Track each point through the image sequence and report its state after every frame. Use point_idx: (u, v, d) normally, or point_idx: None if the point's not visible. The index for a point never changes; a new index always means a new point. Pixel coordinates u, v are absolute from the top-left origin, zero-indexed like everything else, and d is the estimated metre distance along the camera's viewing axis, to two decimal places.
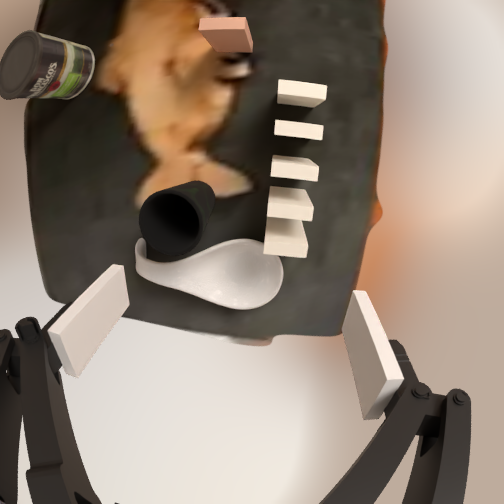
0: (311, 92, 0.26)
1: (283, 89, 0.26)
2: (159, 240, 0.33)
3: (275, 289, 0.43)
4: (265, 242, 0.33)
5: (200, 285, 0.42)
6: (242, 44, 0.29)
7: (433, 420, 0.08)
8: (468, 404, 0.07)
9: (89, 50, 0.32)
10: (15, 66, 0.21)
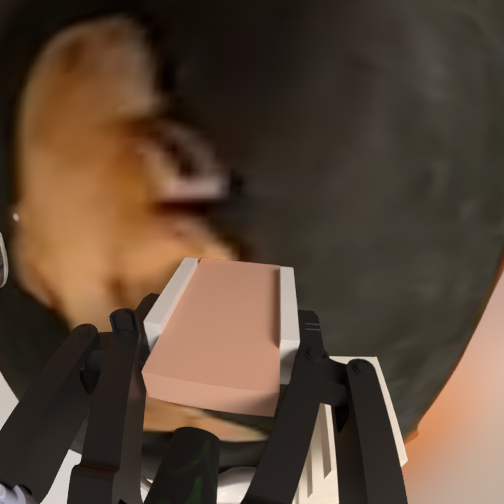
0: None
1: (335, 476, 0.12)
2: None
3: None
4: None
5: None
6: None
7: (332, 387, 0.10)
8: (373, 371, 0.09)
9: None
10: None
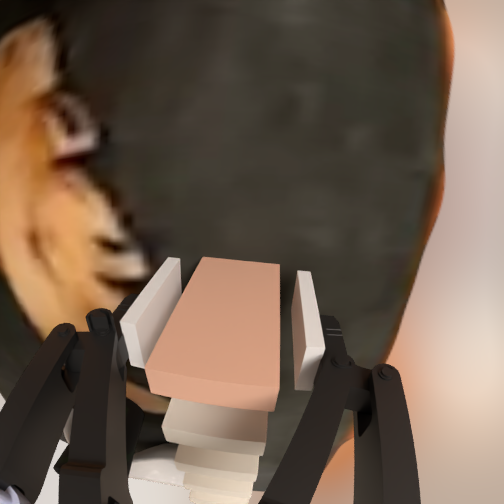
0: (232, 448, 0.12)
1: (175, 439, 0.12)
2: None
3: None
4: None
5: (134, 470, 0.28)
6: None
7: (358, 393, 0.09)
8: (397, 377, 0.09)
9: None
10: None
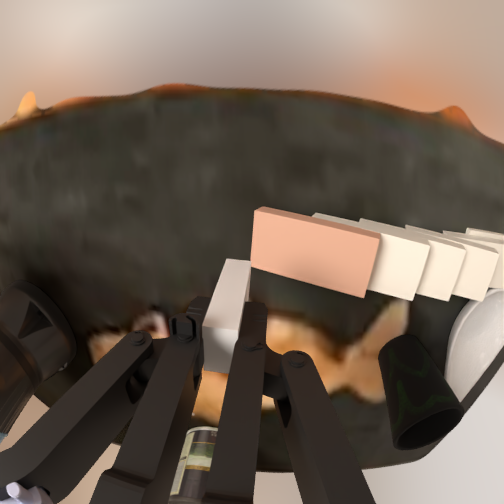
0: None
1: None
2: (437, 426, 0.21)
3: None
4: None
5: (468, 376, 0.26)
6: None
7: (268, 378, 0.10)
8: (310, 362, 0.10)
9: (195, 430, 0.38)
10: None
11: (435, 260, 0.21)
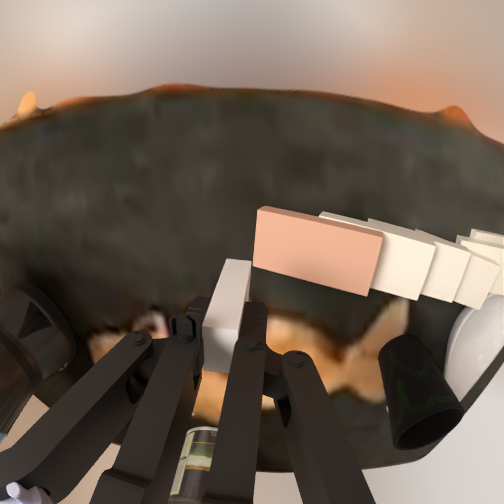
0: None
1: None
2: (437, 426, 0.21)
3: None
4: None
5: (466, 378, 0.26)
6: None
7: (268, 378, 0.10)
8: (310, 362, 0.10)
9: (195, 430, 0.38)
10: None
11: (440, 262, 0.21)
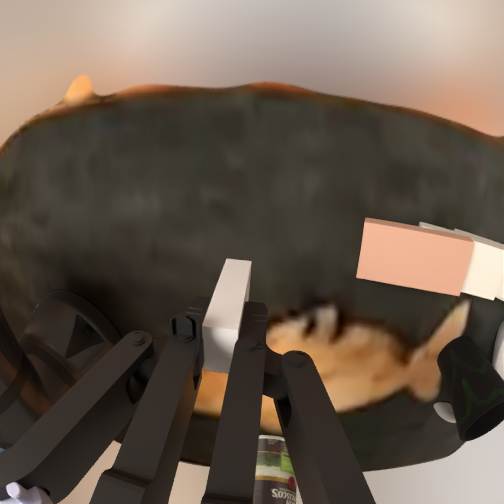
0: None
1: None
2: (491, 417, 0.20)
3: None
4: None
5: None
6: None
7: (268, 378, 0.10)
8: (310, 362, 0.10)
9: None
10: None
11: None
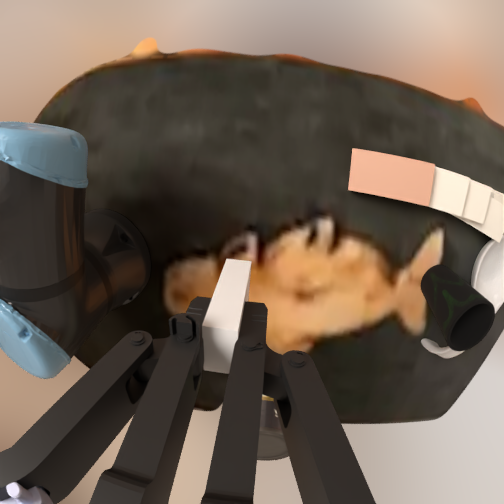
0: None
1: None
2: (474, 333, 0.28)
3: None
4: None
5: None
6: None
7: (268, 378, 0.10)
8: (310, 362, 0.10)
9: None
10: (263, 447, 0.35)
11: (473, 193, 0.27)
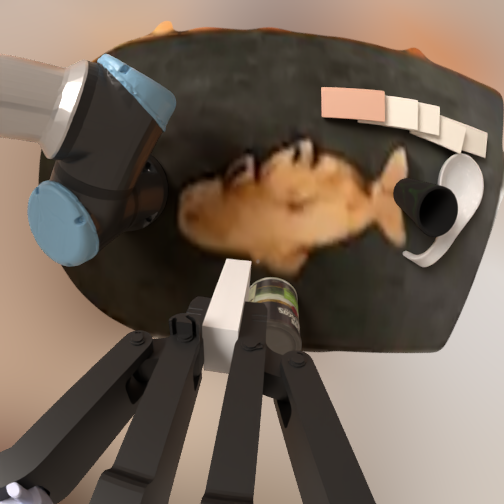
0: None
1: None
2: (444, 223, 0.36)
3: (477, 168, 0.39)
4: None
5: (457, 220, 0.42)
6: None
7: (268, 378, 0.10)
8: (310, 362, 0.10)
9: (257, 282, 0.54)
10: (270, 347, 0.44)
11: (425, 113, 0.36)
